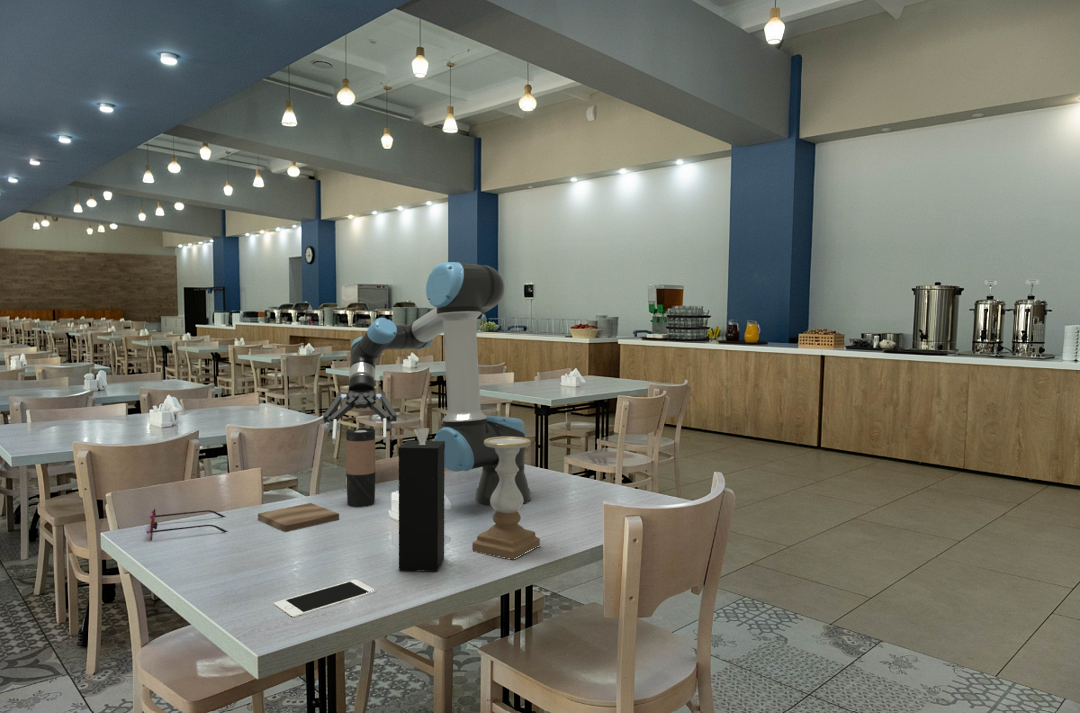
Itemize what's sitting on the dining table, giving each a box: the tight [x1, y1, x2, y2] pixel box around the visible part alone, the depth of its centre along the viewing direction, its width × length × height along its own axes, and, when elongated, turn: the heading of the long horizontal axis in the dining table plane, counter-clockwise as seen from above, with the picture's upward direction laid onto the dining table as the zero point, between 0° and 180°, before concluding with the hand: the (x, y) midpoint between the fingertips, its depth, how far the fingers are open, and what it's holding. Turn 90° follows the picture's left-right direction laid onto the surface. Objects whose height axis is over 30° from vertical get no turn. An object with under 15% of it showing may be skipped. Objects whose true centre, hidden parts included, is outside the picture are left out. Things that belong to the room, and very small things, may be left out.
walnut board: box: [257, 502, 340, 533], centre depth 170 cm, size 14×14×2 cm
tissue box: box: [397, 427, 445, 572], centre depth 139 cm, size 8×8×28 cm
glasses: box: [146, 508, 229, 541], centre depth 162 cm, size 14×16×5 cm
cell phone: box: [273, 579, 375, 618], centre depth 123 cm, size 8×16×1 cm, turn 134°
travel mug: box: [345, 427, 377, 508], centre depth 185 cm, size 8×8×20 cm
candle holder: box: [471, 436, 541, 559], centre depth 149 cm, size 11×11×24 cm
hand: (359, 440), depth 191 cm, fingers open, 13 cm apart
